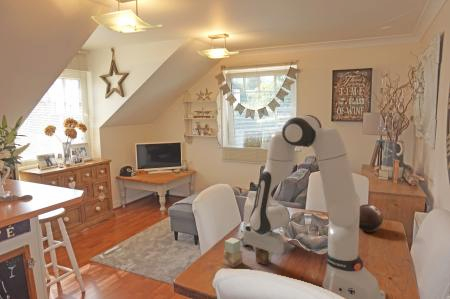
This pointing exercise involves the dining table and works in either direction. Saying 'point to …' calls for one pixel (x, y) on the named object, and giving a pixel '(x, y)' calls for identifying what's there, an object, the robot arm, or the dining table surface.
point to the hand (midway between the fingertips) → (263, 257)
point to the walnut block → (262, 256)
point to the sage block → (232, 245)
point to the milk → (248, 207)
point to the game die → (242, 238)
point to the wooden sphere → (370, 218)
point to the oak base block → (233, 258)
